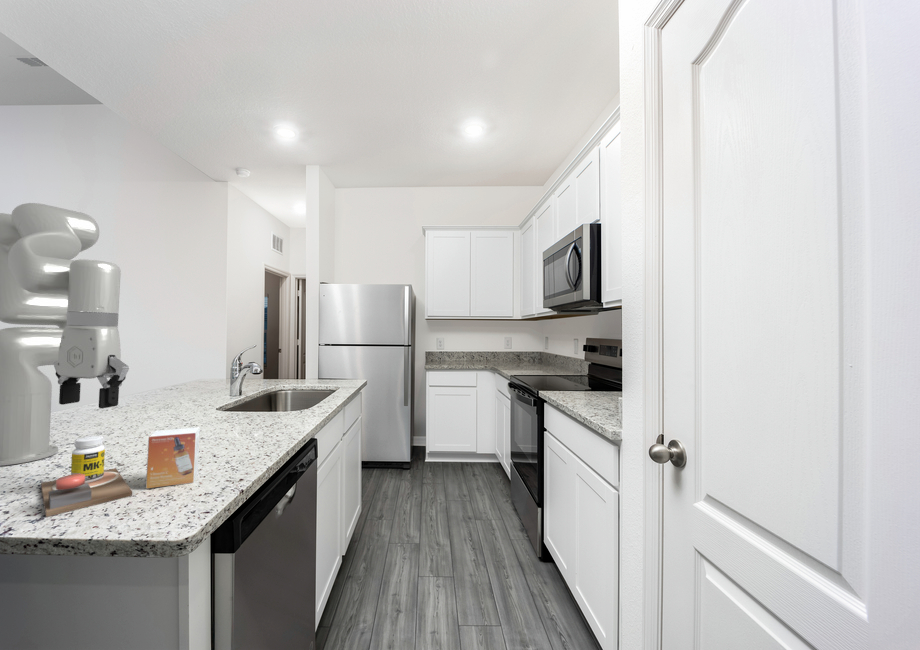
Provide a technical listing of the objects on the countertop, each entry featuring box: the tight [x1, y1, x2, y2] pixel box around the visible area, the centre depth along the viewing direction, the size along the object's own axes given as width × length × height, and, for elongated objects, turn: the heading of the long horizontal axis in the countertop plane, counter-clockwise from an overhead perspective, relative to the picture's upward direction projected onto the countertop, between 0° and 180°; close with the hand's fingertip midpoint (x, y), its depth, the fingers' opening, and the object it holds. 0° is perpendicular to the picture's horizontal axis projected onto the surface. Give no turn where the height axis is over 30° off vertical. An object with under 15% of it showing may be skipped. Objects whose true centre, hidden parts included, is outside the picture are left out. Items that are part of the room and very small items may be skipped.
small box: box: [145, 426, 201, 489], centre depth 78 cm, size 8×6×10 cm
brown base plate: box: [40, 467, 133, 518], centre depth 73 cm, size 18×11×2 cm, turn 50°
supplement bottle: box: [70, 435, 106, 484], centre depth 75 cm, size 5×5×8 cm
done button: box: [55, 474, 85, 490], centre depth 67 cm, size 4×4×1 cm
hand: (88, 405), depth 76 cm, fingers open, 9 cm apart
